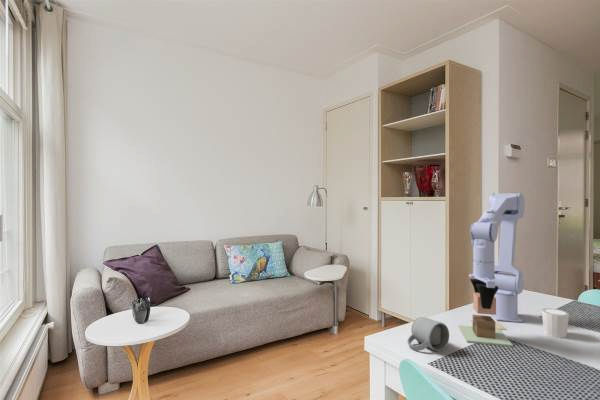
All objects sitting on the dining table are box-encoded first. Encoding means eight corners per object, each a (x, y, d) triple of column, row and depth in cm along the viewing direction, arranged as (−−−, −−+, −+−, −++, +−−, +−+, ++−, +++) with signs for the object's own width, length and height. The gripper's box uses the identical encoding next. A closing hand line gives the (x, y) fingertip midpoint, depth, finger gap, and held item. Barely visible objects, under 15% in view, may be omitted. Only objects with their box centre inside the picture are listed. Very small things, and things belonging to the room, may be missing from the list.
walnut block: (472, 330, 105) (472, 314, 105) (490, 331, 104) (490, 316, 104) (476, 336, 100) (476, 320, 100) (495, 338, 99) (495, 321, 99)
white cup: (558, 339, 99) (558, 316, 99) (536, 331, 106) (536, 309, 106) (575, 337, 101) (575, 314, 101) (552, 328, 108) (552, 307, 108)
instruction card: (471, 320, 115) (471, 319, 115) (500, 323, 113) (500, 322, 113) (475, 327, 109) (475, 326, 109) (506, 329, 107) (506, 328, 107)
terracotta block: (473, 308, 105) (473, 292, 105) (490, 309, 104) (490, 293, 104) (477, 313, 100) (477, 296, 100) (496, 314, 99) (496, 298, 99)
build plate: (458, 326, 109) (458, 325, 109) (498, 330, 106) (498, 328, 106) (467, 342, 98) (467, 340, 98) (513, 346, 95) (513, 344, 95)
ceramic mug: (427, 337, 101) (427, 312, 101) (450, 348, 94) (449, 321, 94) (400, 344, 97) (400, 318, 97) (422, 356, 89) (421, 328, 89)
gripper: (463, 256, 110) (463, 297, 110) (475, 265, 96) (475, 312, 96) (487, 257, 108) (487, 299, 108) (503, 266, 94) (502, 314, 94)
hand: (483, 305), depth 102 cm, fingers closed on terracotta block, 5 cm apart
